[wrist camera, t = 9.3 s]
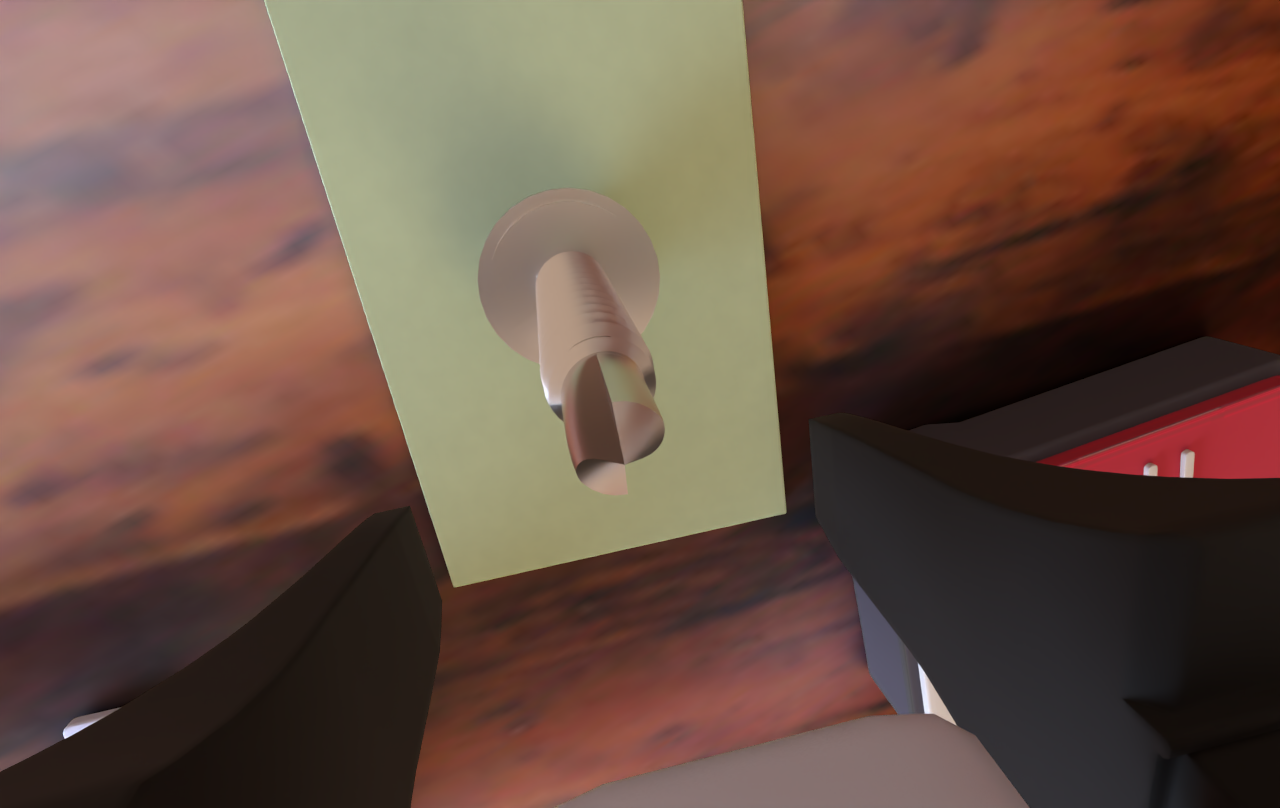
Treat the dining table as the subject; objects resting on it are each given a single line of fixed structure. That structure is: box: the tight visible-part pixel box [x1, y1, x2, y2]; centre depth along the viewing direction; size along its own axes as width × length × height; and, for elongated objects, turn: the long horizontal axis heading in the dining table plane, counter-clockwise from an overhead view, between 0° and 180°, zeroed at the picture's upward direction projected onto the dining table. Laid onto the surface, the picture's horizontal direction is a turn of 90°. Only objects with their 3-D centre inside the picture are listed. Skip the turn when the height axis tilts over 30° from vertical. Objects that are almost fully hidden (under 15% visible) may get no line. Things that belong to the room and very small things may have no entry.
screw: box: [477, 187, 665, 495], centre depth 14 cm, size 13×5×5 cm
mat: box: [264, 0, 787, 587], centre depth 20 cm, size 20×12×1 cm, turn 9°
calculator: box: [852, 337, 1280, 726], centre depth 25 cm, size 11×4×15 cm
